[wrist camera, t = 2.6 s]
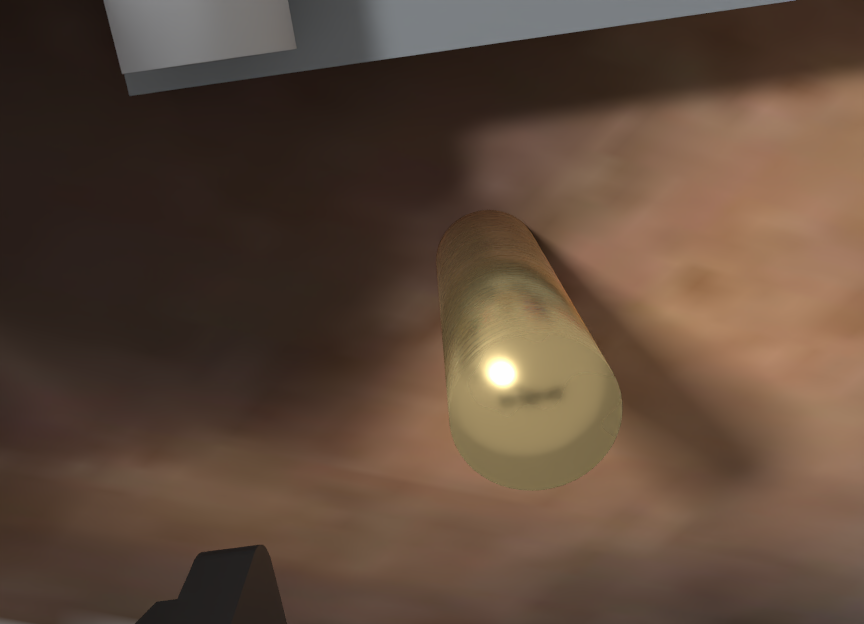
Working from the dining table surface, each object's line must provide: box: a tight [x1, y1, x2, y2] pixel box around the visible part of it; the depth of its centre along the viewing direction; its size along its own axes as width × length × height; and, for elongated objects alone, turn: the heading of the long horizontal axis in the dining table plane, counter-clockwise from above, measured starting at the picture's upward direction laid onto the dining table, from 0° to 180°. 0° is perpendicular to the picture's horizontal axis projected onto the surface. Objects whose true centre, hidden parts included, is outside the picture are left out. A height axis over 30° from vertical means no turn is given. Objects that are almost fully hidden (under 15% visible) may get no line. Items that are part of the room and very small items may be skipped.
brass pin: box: [436, 210, 622, 491], centre depth 19 cm, size 3×3×10 cm
